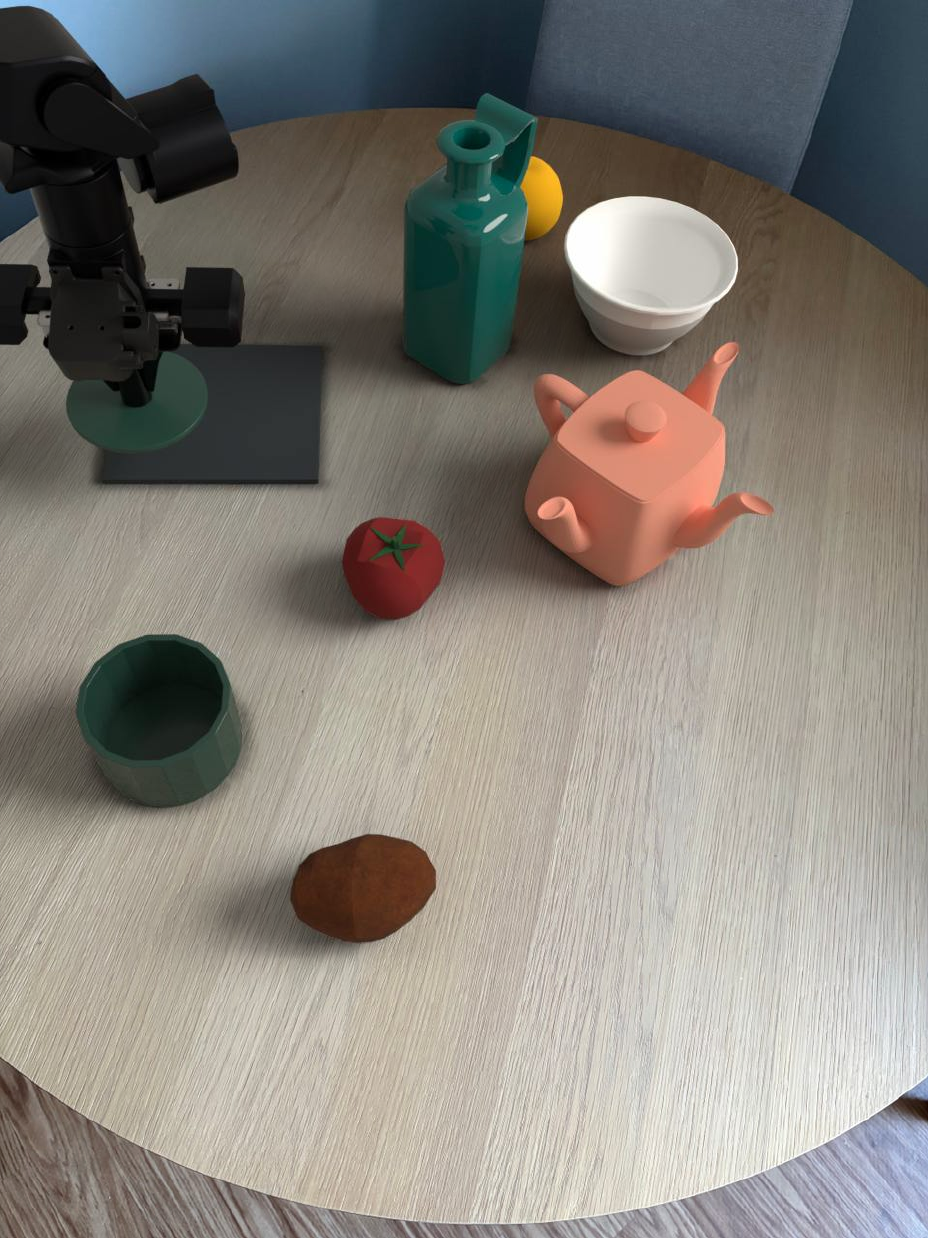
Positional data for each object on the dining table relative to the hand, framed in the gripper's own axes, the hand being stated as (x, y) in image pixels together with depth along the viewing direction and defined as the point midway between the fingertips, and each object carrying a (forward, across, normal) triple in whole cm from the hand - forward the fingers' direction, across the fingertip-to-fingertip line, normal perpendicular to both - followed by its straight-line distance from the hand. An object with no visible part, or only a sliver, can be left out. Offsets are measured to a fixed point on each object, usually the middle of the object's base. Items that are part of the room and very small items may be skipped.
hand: (134, 387), depth 83 cm
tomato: (+8, +20, -14) cm, 26 cm away
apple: (+8, +34, +31) cm, 47 cm away
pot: (+8, +40, -7) cm, 42 cm away
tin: (+8, +4, -27) cm, 28 cm away
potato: (+9, +18, -39) cm, 44 cm away
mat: (+8, +5, +5) cm, 11 cm away
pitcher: (+8, +27, +14) cm, 32 cm away
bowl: (+8, +44, +17) cm, 48 cm away
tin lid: (+2, 0, 0) cm, 2 cm away
